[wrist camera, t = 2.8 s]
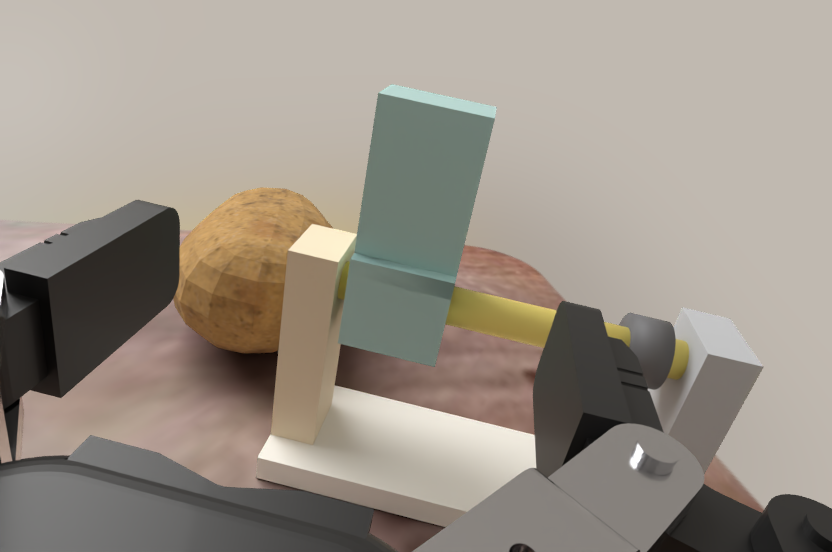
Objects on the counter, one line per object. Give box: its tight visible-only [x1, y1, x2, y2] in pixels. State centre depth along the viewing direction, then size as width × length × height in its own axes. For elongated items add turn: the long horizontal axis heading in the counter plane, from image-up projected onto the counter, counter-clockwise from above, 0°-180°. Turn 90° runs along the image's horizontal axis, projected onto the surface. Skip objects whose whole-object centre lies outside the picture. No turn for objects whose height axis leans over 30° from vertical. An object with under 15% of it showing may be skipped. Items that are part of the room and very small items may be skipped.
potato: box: [173, 188, 333, 353], centre depth 34 cm, size 10×14×8 cm
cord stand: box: [256, 224, 763, 527], centre depth 25 cm, size 18×6×10 cm, turn 81°
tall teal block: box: [338, 84, 497, 367], centre depth 23 cm, size 4×4×10 cm
